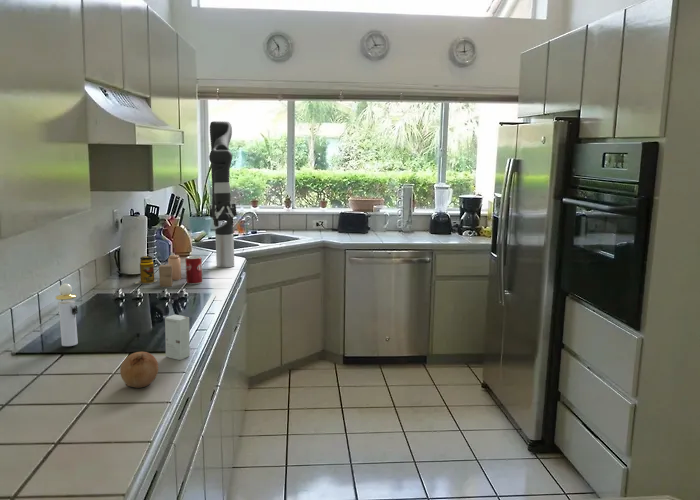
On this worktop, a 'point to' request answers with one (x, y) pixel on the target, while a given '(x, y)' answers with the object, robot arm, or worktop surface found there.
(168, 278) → the block
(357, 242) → the worktop surface
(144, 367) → the onion
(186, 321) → the skincare box
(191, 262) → the soda can
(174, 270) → the tan rounded cylinder
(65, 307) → the perfume bottle
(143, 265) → the yellow coffee bottle can
